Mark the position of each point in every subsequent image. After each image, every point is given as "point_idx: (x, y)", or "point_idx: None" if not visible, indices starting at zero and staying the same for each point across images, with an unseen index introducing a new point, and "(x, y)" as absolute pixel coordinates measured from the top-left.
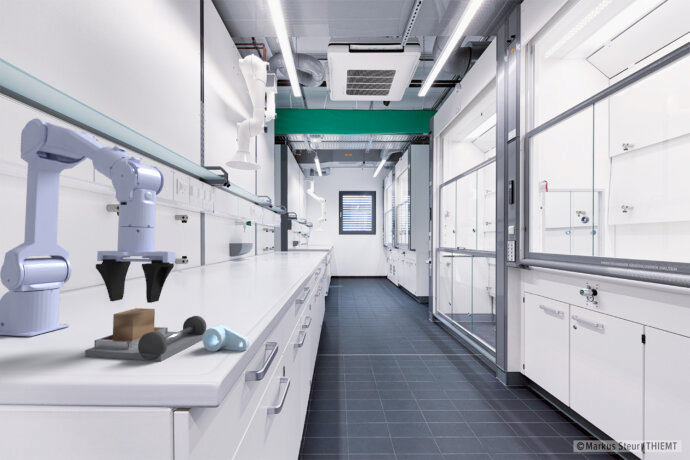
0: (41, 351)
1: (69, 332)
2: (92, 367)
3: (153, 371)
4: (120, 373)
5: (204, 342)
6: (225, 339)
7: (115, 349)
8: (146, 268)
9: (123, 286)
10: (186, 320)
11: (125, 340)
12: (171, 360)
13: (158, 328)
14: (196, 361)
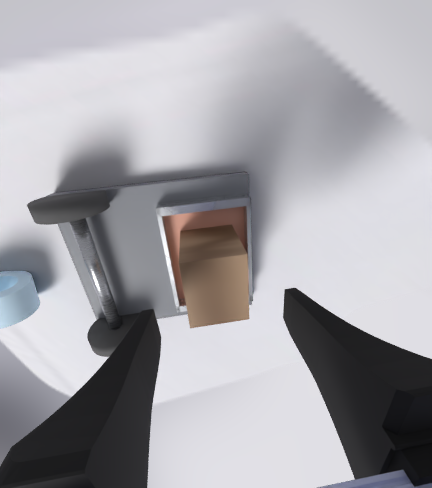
0: (363, 170)
1: (406, 268)
2: (164, 123)
3: (5, 140)
4: (64, 110)
5: (26, 279)
6: None
7: (186, 195)
8: (68, 439)
9: (304, 355)
10: None
11: (198, 230)
12: None
13: None
14: None
